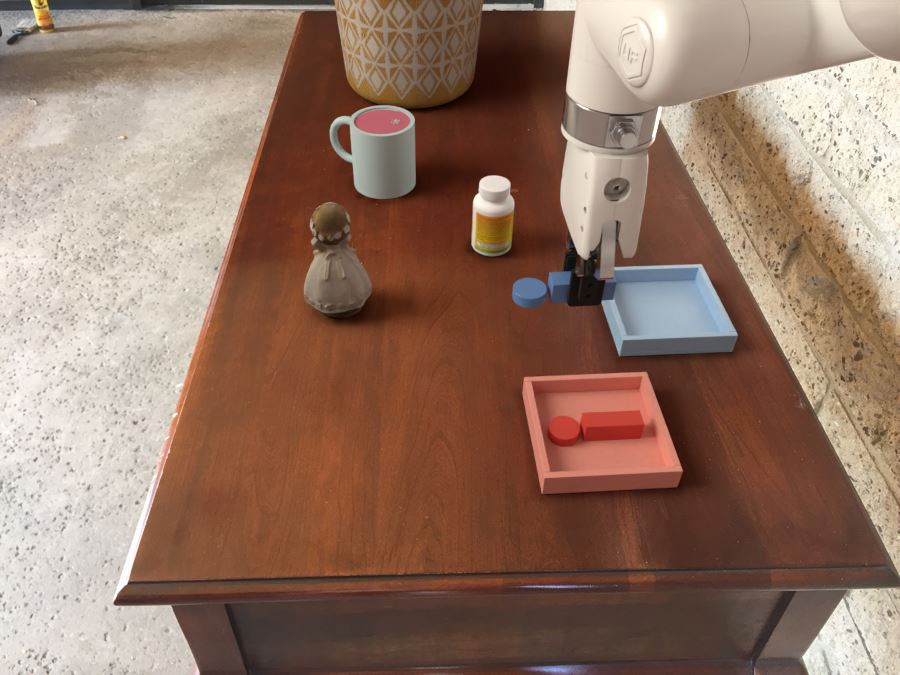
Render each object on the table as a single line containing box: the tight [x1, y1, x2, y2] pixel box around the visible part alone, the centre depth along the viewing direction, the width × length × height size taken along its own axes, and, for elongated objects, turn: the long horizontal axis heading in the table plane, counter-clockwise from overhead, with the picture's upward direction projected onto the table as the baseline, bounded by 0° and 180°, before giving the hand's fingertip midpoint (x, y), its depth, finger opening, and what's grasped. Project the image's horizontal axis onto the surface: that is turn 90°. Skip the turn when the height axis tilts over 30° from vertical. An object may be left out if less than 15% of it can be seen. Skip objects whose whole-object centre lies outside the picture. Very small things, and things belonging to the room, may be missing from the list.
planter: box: [333, 0, 484, 110], centre depth 133 cm, size 26×26×22 cm
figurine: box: [303, 201, 373, 320], centre depth 90 cm, size 8×7×15 cm
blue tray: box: [601, 263, 739, 357], centre depth 94 cm, size 13×13×3 cm
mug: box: [329, 104, 417, 200], centre depth 114 cm, size 14×9×10 cm
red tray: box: [522, 371, 684, 495], centre depth 80 cm, size 13×13×3 cm
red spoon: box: [548, 410, 645, 447], centre depth 79 cm, size 3×10×2 cm, turn 94°
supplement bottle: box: [471, 174, 515, 257], centre depth 102 cm, size 5×5×10 cm
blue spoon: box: [511, 271, 617, 309], centre depth 73 cm, size 3×10×2 cm, turn 95°
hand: (580, 293), depth 74 cm, fingers closed on blue spoon, 2 cm apart
